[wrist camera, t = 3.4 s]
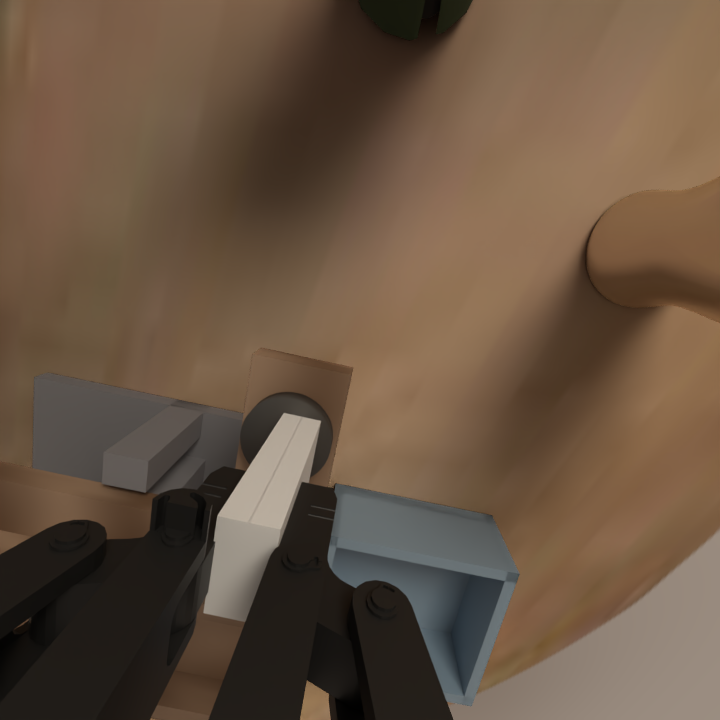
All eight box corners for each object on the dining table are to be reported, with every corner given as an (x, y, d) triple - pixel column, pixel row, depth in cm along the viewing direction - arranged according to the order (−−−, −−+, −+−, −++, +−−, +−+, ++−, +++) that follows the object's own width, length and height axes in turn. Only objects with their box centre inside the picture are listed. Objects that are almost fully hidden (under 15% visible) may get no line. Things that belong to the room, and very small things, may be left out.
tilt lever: (-16, 618, 24) (-133, 724, 18) (-22, 276, 19) (-182, 281, 13) (286, 679, 24) (260, 803, 18) (355, 357, 19) (347, 394, 14)
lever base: (42, 588, 28) (-63, 691, 21) (47, 372, 25) (-78, 414, 18) (294, 638, 29) (270, 755, 22) (338, 433, 25) (325, 497, 18)
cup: (310, 600, 28) (296, 672, 23) (335, 483, 26) (327, 534, 21) (454, 629, 28) (471, 706, 23) (491, 515, 26) (519, 573, 21)
